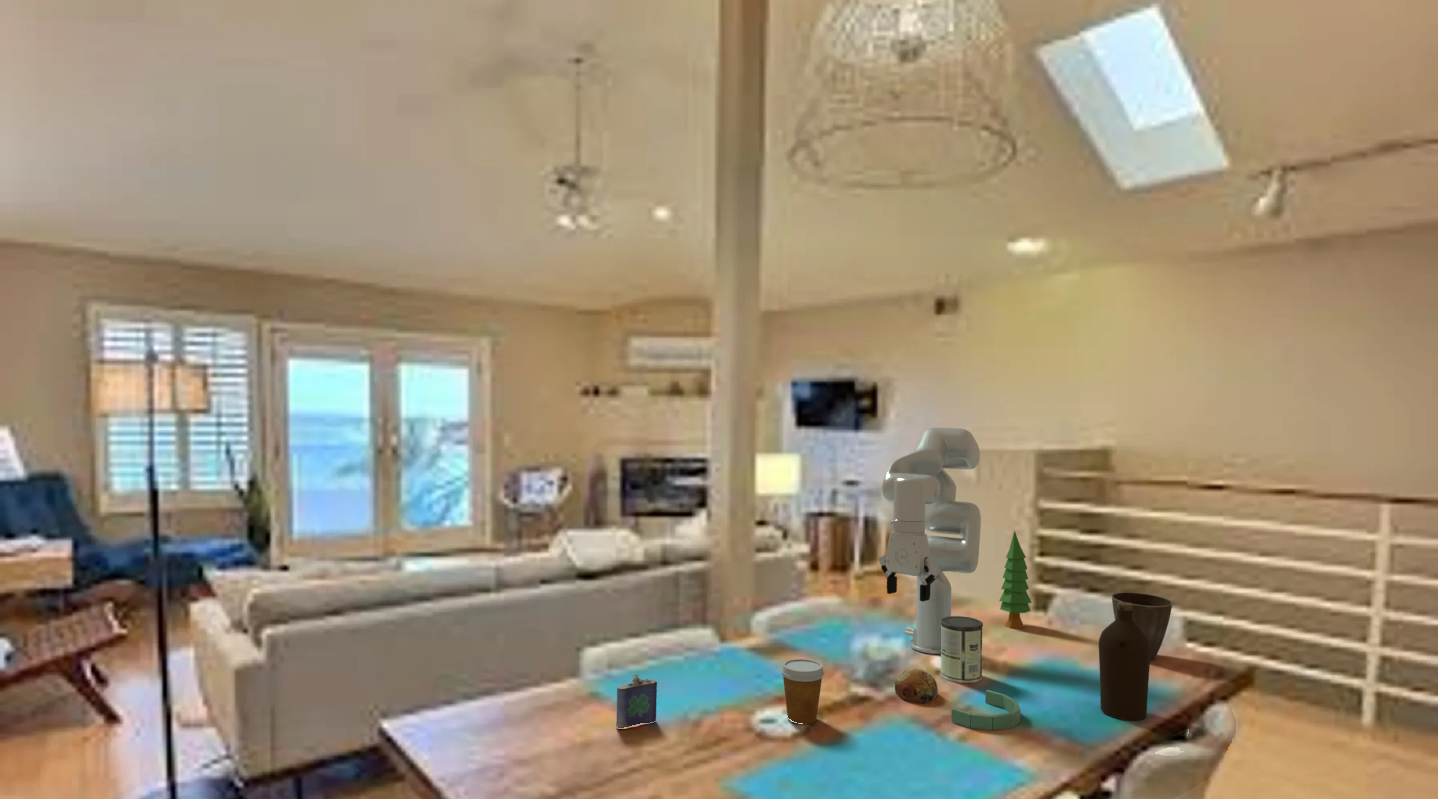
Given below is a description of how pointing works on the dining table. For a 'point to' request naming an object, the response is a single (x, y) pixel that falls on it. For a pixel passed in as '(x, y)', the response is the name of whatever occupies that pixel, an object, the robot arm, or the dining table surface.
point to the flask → (636, 702)
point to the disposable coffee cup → (802, 689)
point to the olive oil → (1124, 667)
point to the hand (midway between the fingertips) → (908, 596)
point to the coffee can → (961, 649)
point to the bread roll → (916, 686)
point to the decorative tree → (1015, 585)
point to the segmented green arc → (990, 720)
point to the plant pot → (1147, 615)
